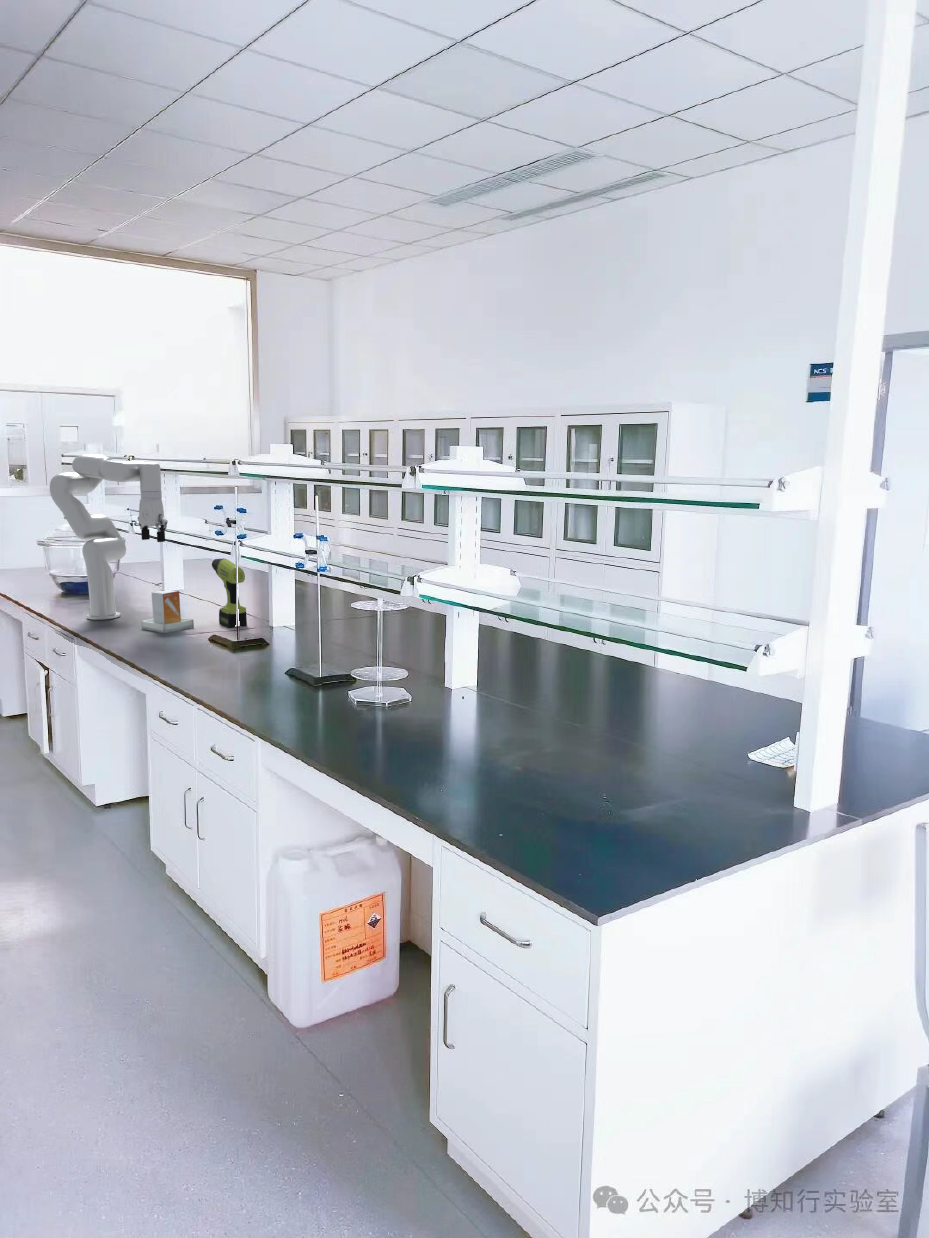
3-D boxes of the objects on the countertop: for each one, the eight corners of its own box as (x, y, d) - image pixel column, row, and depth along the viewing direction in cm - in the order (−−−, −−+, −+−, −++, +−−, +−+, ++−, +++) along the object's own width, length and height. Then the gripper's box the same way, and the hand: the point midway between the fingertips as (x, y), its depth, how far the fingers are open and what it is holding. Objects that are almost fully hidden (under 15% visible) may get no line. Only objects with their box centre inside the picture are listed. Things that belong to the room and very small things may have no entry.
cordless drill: (208, 620, 360) (204, 557, 355) (225, 617, 364) (221, 555, 359) (232, 629, 342) (228, 563, 337) (249, 626, 346) (246, 561, 341)
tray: (141, 628, 344) (141, 621, 343) (170, 623, 354) (170, 615, 354) (164, 633, 336) (164, 625, 335) (193, 627, 346) (193, 619, 345)
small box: (164, 628, 340) (162, 593, 337) (153, 626, 343) (150, 592, 340) (181, 624, 346) (179, 590, 344) (170, 622, 350) (167, 589, 347)
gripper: (128, 494, 347) (131, 539, 351) (156, 497, 337) (158, 543, 341) (146, 494, 353) (148, 538, 357) (173, 496, 343) (175, 542, 347)
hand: (153, 540), depth 349 cm, fingers open, 9 cm apart
